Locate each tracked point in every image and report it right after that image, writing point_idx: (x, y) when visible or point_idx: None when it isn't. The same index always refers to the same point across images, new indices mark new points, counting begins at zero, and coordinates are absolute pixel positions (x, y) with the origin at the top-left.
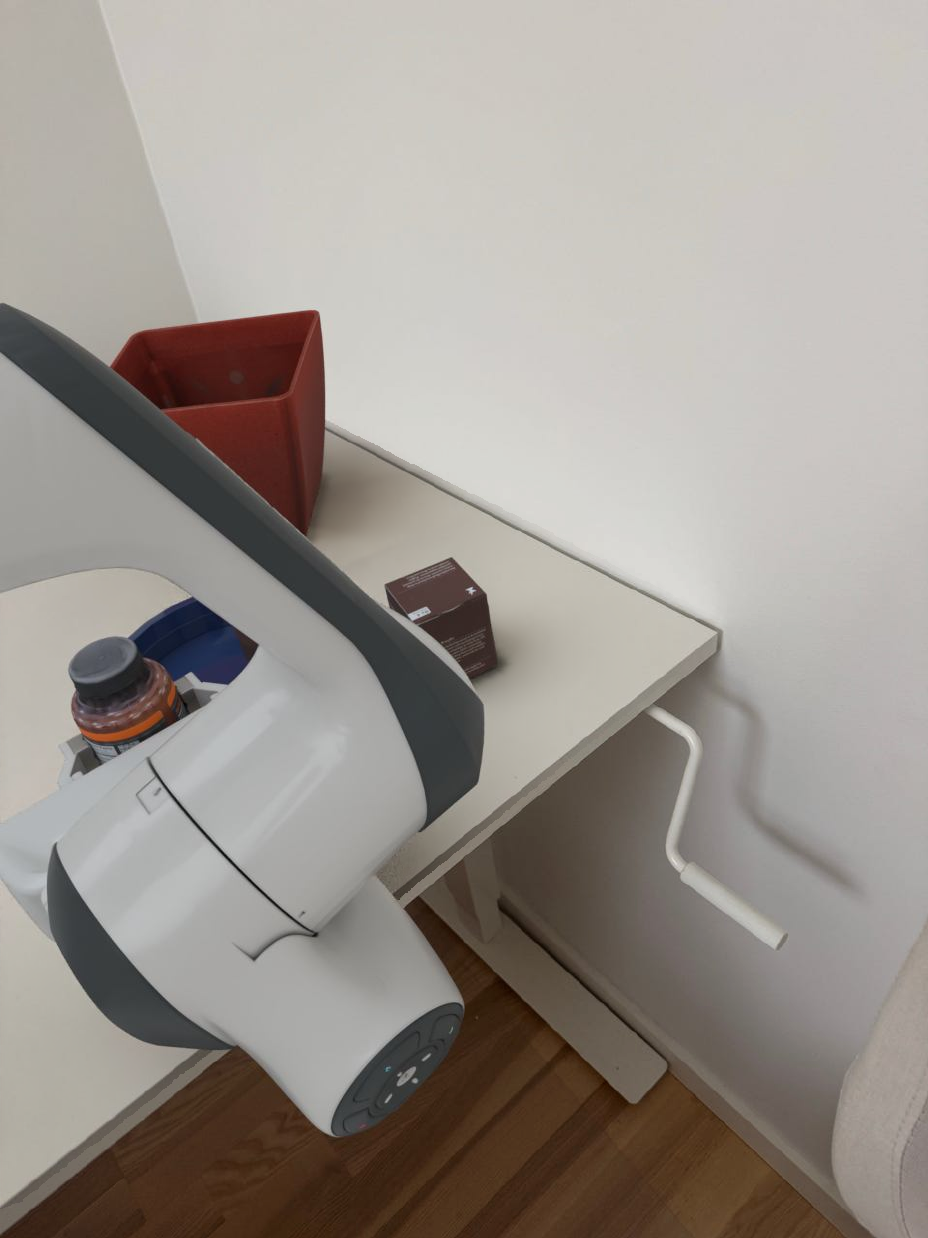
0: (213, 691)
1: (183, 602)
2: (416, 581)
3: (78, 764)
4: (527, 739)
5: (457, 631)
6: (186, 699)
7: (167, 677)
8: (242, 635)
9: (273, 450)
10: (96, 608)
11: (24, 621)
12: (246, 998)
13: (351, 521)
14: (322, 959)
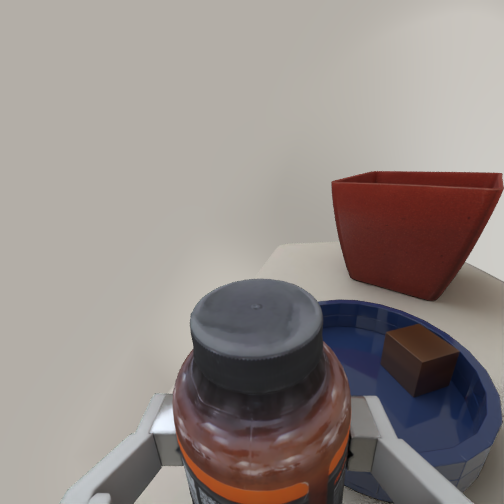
0: (430, 491)
1: (348, 301)
2: None
3: (142, 455)
4: None
5: None
6: (356, 448)
7: (348, 403)
8: (390, 347)
9: (457, 230)
10: (296, 284)
11: (262, 275)
12: None
13: (474, 304)
14: None
